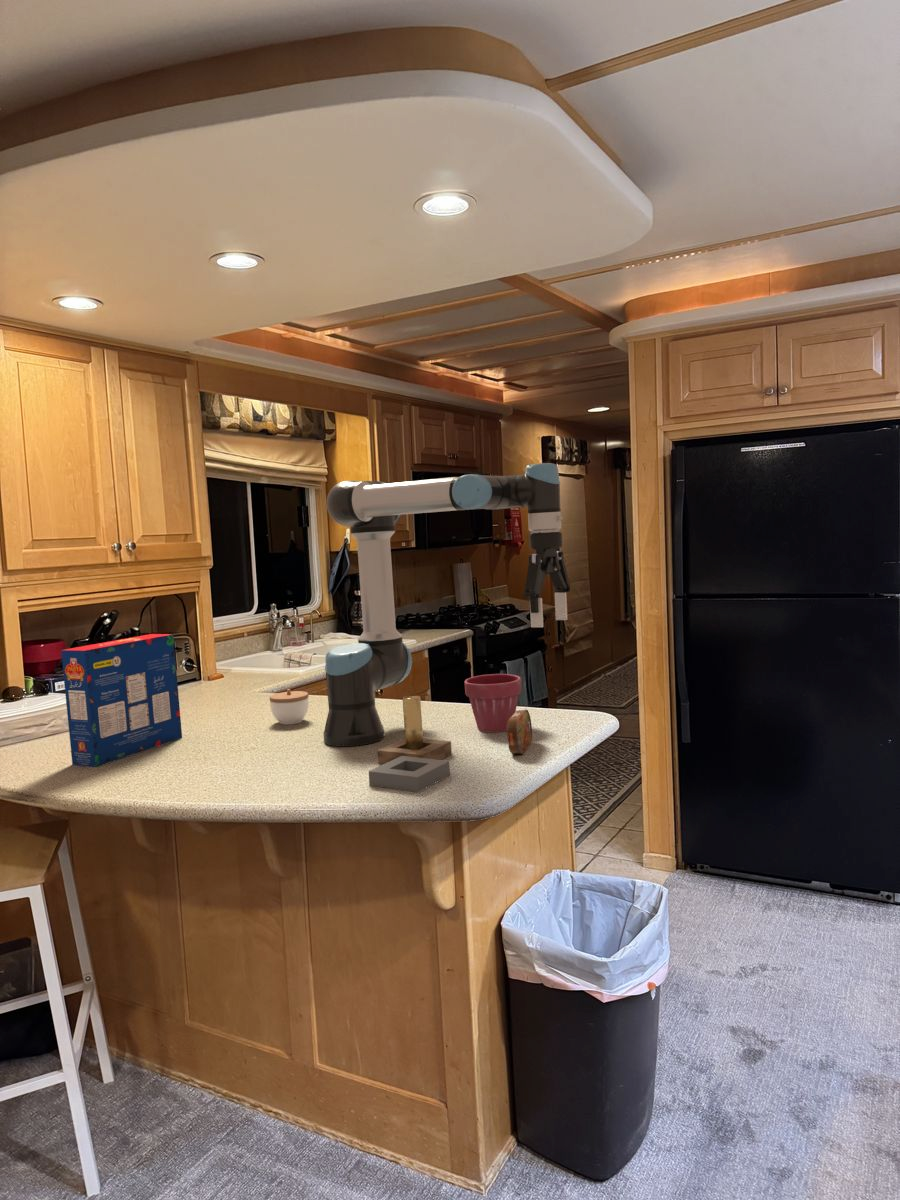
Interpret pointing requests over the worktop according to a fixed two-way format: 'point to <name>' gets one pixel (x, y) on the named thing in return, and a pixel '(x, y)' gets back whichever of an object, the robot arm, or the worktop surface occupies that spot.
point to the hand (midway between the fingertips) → (549, 623)
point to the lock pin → (413, 722)
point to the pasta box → (121, 698)
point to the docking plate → (409, 773)
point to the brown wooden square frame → (429, 750)
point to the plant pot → (493, 699)
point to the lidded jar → (289, 706)
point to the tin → (519, 732)
